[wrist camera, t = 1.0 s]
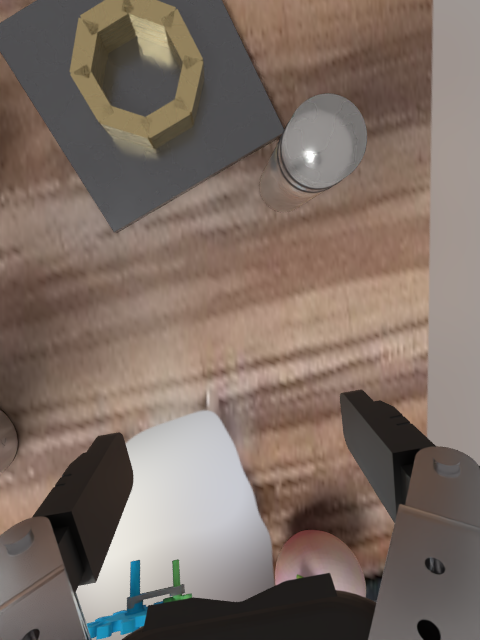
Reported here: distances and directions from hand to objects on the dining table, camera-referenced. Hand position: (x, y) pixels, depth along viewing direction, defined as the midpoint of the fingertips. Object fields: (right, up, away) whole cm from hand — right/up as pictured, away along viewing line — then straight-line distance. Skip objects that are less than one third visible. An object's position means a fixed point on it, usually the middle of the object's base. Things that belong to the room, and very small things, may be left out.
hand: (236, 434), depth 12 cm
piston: (+4, +17, +19) cm, 26 cm away
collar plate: (-8, +24, +16) cm, 31 cm away
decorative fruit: (+8, -22, +27) cm, 35 cm away
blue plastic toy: (-11, -27, +26) cm, 39 cm away
